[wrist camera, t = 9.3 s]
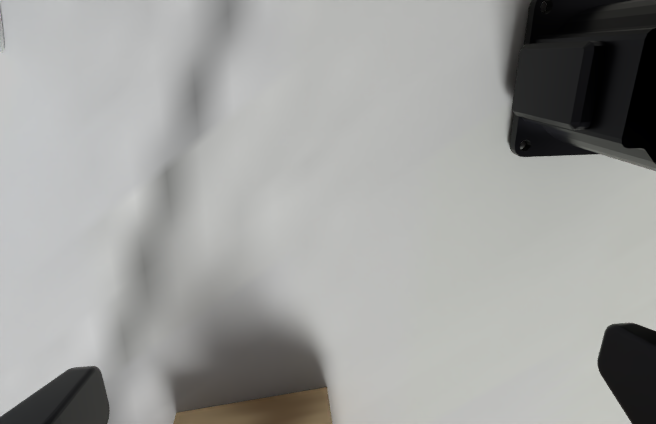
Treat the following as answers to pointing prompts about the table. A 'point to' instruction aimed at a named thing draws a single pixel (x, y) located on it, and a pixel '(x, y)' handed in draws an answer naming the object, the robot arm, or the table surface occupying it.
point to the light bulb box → (1, 36)
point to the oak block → (266, 410)
